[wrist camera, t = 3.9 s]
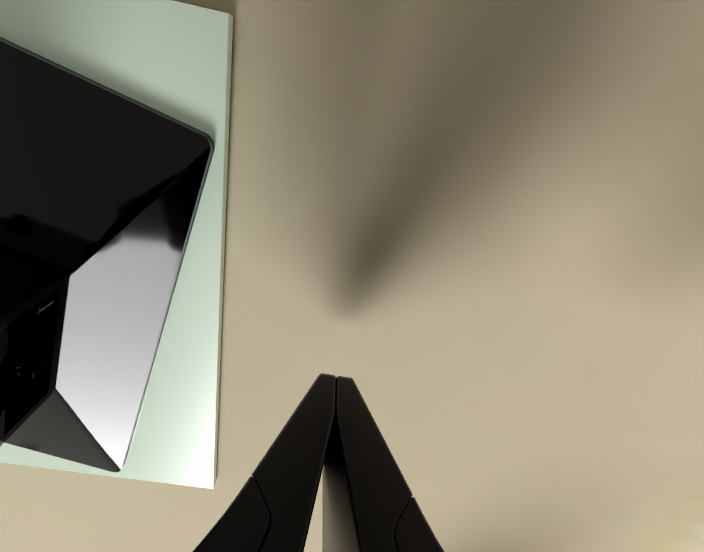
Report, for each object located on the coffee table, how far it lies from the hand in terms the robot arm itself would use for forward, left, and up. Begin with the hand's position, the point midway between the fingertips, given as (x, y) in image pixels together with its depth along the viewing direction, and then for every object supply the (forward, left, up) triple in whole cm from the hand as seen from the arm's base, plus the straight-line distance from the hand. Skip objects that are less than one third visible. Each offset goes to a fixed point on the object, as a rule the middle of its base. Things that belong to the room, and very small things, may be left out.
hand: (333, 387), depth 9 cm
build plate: (-8, 0, -2) cm, 9 cm away
